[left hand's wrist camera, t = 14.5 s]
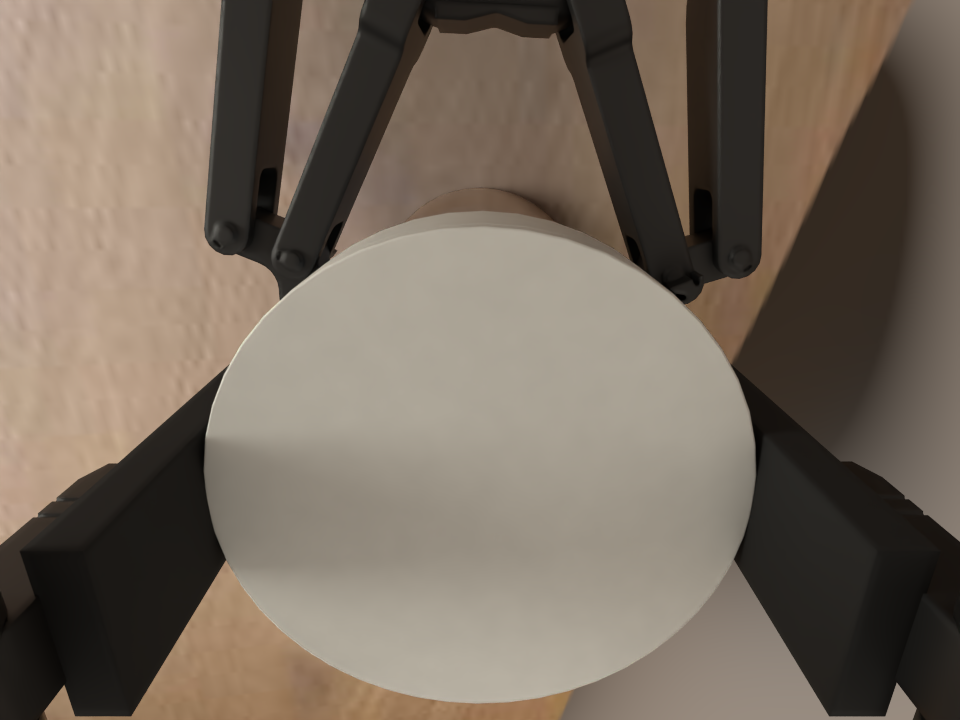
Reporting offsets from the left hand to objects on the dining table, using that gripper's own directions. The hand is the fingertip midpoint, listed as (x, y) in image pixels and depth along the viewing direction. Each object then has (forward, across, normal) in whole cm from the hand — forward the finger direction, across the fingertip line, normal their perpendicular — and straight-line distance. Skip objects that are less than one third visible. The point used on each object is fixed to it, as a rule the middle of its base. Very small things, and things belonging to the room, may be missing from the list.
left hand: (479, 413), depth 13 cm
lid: (-3, 0, 0) cm, 3 cm away
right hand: (+6, 0, -5) cm, 7 cm away
